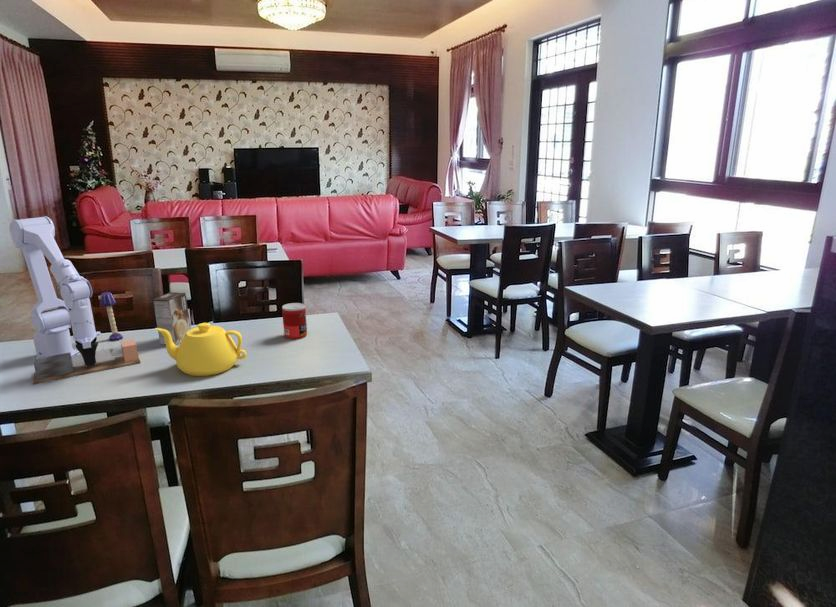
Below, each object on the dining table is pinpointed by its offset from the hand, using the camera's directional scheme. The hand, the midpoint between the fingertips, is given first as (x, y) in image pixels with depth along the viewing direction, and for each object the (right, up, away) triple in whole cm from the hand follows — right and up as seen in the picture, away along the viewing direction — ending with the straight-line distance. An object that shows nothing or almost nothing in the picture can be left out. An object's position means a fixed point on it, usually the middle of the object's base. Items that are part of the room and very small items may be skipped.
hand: (90, 363), depth 164 cm
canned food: (+56, +7, +27) cm, 63 cm away
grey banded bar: (-3, 0, -2) cm, 3 cm away
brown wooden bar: (-1, -2, 0) cm, 2 cm away
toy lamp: (-6, +6, +24) cm, 26 cm away
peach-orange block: (+9, +1, +6) cm, 11 cm away
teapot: (+34, -1, +2) cm, 34 cm away
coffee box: (+16, +5, +23) cm, 28 cm away
